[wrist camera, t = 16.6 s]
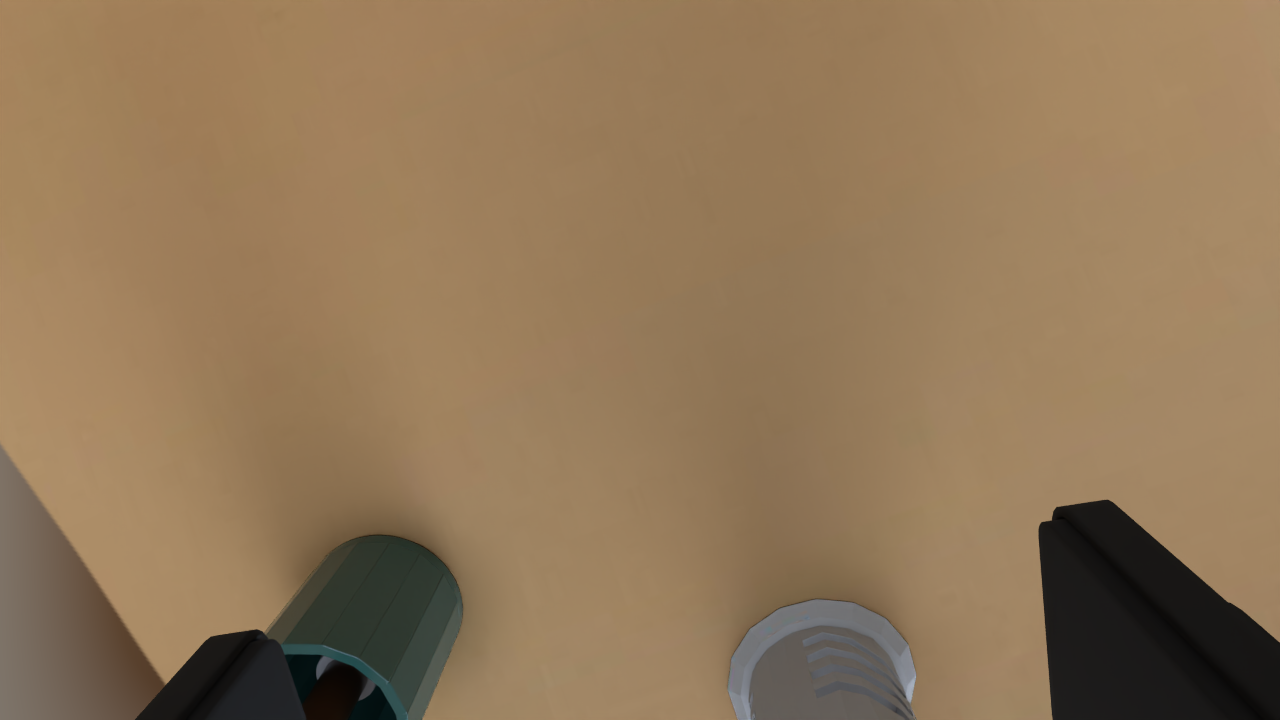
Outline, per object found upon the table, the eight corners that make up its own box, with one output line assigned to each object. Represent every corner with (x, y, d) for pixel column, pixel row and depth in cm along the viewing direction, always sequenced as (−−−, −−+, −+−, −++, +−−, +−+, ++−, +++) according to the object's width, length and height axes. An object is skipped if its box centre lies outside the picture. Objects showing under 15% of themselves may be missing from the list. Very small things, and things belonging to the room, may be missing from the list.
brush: (337, 630, 44) (199, 840, 31) (360, 573, 44) (227, 767, 31) (402, 656, 45) (291, 876, 32) (426, 600, 44) (322, 804, 31)
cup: (279, 603, 45) (180, 726, 36) (376, 504, 43) (297, 607, 34) (396, 697, 46) (328, 839, 37) (494, 605, 45) (448, 730, 36)
